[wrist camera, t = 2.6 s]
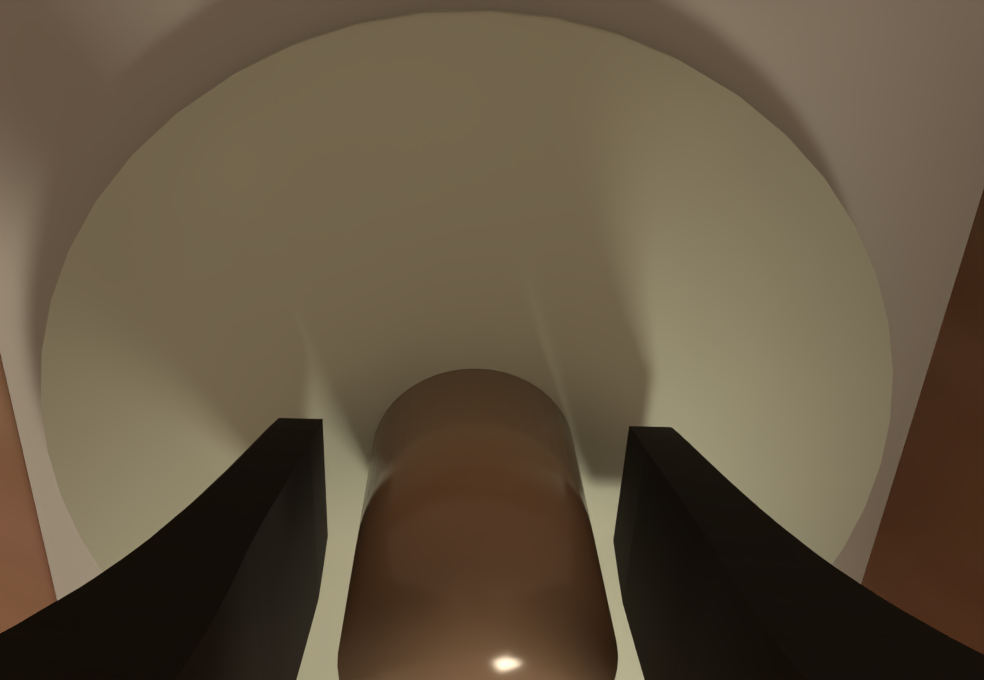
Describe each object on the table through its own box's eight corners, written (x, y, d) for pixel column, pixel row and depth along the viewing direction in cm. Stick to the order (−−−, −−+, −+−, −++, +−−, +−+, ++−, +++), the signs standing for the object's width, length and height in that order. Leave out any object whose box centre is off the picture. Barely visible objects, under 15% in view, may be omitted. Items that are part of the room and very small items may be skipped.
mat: (802, 713, 18) (813, 738, 17) (99, 709, 17) (88, 735, 16) (1024, -36, 11) (1052, -34, 11) (-75, -94, 11) (-102, -94, 10)
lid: (785, 709, 17) (898, 989, 12) (127, 707, 16) (4, 1000, 12) (968, 27, 11) (1291, 97, 7) (-19, -14, 10) (-352, 34, 6)
